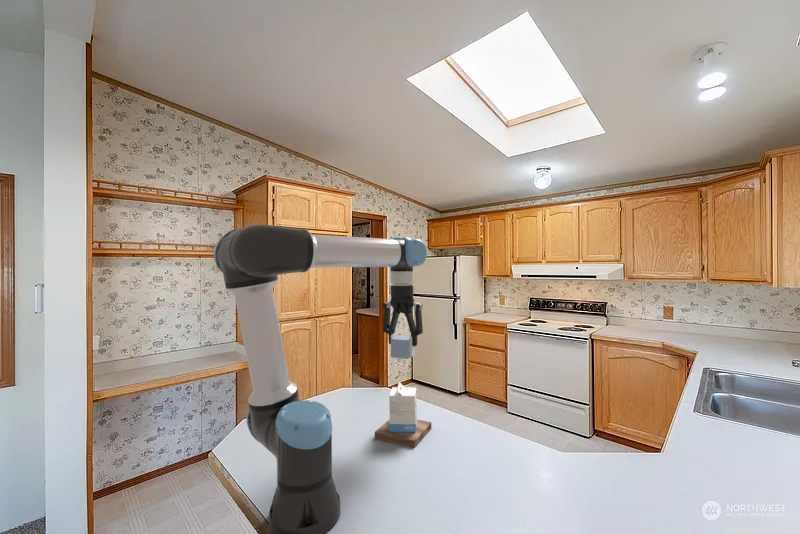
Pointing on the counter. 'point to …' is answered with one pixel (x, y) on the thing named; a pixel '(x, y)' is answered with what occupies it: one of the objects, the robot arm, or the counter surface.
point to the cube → (400, 347)
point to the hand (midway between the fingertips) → (403, 354)
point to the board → (404, 434)
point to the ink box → (403, 409)
